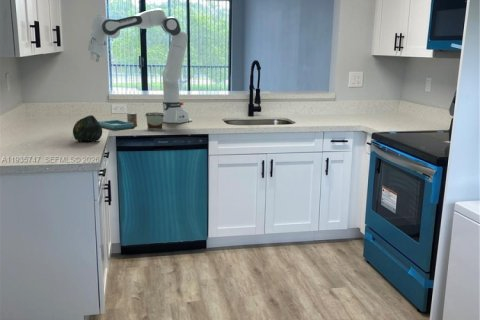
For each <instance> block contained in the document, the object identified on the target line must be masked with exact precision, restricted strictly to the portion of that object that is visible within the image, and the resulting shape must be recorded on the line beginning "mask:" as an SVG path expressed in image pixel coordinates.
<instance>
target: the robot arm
mask: <svg viewBox="0 0 480 320" xmlns="http://www.w3.org/2000/svg"><path fill="white" fill-rule="evenodd" d="M159 26H160V27H161V29H162V30H163V32H164V33H166V34H167V35H170V36H171V40H170V45H169V49H168V52H167V58H166V62H165V63H166V64H165V67H164V68H163V70H162V89H163V92H162V93H163V101H162V113H163V114H164V116H163V123H169V124H171V123H174V124H182V123H188V121H189V122H192V121H193V119H192V118H190V117H189V112H188V111H187V110H185V109H184V108H183V107H182V106H184V105H185V103H184V102H183V101H182V102H180V87H179V86H180V85H179V79H180V77H181V73H182V69H183V62H184V57H185V54H186V50H187V45H188V34H187V33H186V32H185V31H183V30H182V29H181V25H180V22H179V21H178V18H176V17H174V16H167V15H166V13H165V11H164V10H163V9H162V8H153V9H149V10H146V11H142V12H140V13H137V14H135V15H134V14H133V15H132V16H127V17H124V18H119V19H113V18H107V17H106V16H104V15H101V14H100V15H95V16H94V18H93V20H92V25H91V34H90V37H89V38H90V40H89V41H88V42H89V43H88V49H87V50H88V52H90V60H94V61H95V63H96V62H97V63H99V61H100V59H101V57H104V53H105V46H106V45H107V42H106V40H105V37H108V38H111V39H116V38H118V37H119V36H120V34H121V30H123V29H127V28H133V27H137V28H138V29H139V28H140V29H141V30H142V29H143V30H145V29H151V28H154V27H159ZM95 55H96V58H95Z"/></svg>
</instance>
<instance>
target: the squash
mask: <svg viewBox="0 0 480 320" xmlns="http://www.w3.org/2000/svg"><path fill="white" fill-rule="evenodd" d="M72 135H73V137H74V139H75V141H78V142H93V141H94V142H97V141H98V140H100V139H101V137H102V136H103V127H101V125H100V124H99V121H98V120H97V118H96V117H95V116H94V115H86V116H85V117H83V118H81V119H79V120H77V121H76V122H75V124H74V125H73V128H72Z"/></svg>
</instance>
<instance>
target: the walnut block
mask: <svg viewBox="0 0 480 320" xmlns="http://www.w3.org/2000/svg"><path fill="white" fill-rule="evenodd" d="M126 116H127V117H126V118H127V119H126V120H127V121H126V122H130V123H134V127H137V125H138V122H137V121H138V120H137V119H138V118H137V113H135V112H131V113H129V112H128V113H127V115H126Z"/></svg>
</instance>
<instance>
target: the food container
mask: <svg viewBox="0 0 480 320" xmlns="http://www.w3.org/2000/svg"><path fill="white" fill-rule="evenodd" d="M163 116H164V114H163V112H157V111H156V112H147V113H145V117H146V123H147V129H148V130H163V127H164V125H163V123H164V122H163Z"/></svg>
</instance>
